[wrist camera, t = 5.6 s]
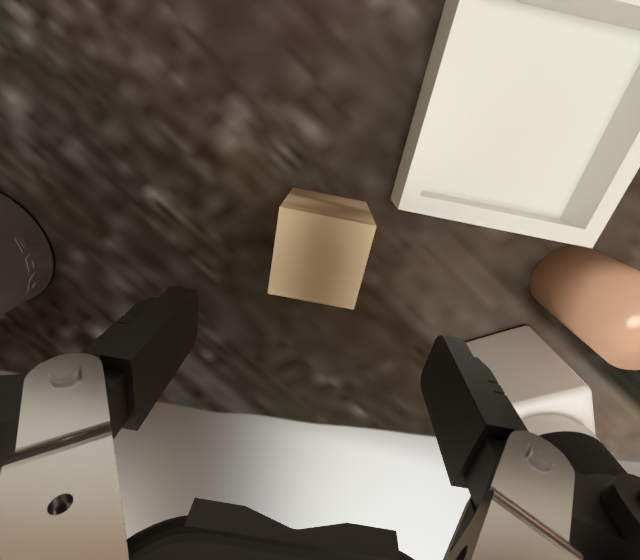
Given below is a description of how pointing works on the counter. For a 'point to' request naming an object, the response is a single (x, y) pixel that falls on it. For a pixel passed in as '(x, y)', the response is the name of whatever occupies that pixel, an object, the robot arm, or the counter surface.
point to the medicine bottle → (547, 397)
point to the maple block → (321, 248)
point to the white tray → (527, 117)
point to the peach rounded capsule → (593, 301)
